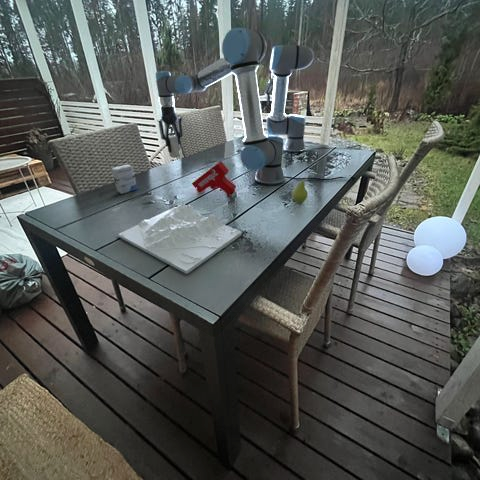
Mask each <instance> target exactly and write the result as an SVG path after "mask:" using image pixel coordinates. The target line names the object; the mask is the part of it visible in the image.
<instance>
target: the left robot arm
mask: <svg viewBox="0 0 480 480" xmlns="http://www.w3.org/2000/svg"><path fill="white" fill-rule="evenodd" d="M267 46H268V45H267V41H266V38H265V36H264V35H263V33H262V32H260V31H258V30H255V29H248V28H244V27H233V28H230V29H229V30H228V31H227V32H226V34H225V36H224V38H223V40H222V43H221V52H222V56H223V57H221V58H219V59H217V60H216V61H215V62H213V63H211V64H210V65H207V66H206V67H205V68H203V69H201V70H199V71H198V72H196V73H195V74H189V75H171V74H172V73H171V71H167V70H165V71H164V70H163V71H156V72H155V83H156V90H157V95H158V102H159V106H160V114H161V118H160V119H157V120H156V122H157V124H158V128H159V133H160V138H161V140H163V141H164V143H165V146H166V147H167V151H168V153H169V152H170V153H171V152H172V151H171V145H170V140H168V136H170V135H169V134H170V132H169V131H170V126H171V127H172V130H173V132H174V136H176V137H177V138H178V146H179V147H180V145H181V138H183V127H182V120H183V119H182V117H178V116H177V112H176V106H175V98H174V97H175V96H174V94H178V95H179V94H180V95H187V94H190V93H202V92H204V91H206V89H207V88H208V87H209V86H211V85H213V84H215V83H217V82H219V81H220V80H223V79H224V78H226V77H228V76H230V75H234V76H235V83H236V87H237V93H238V94H237V95H238V100H239V107H240V112H241V118H242V124H243V130H244V138H243V139H242V145H243V146H242V147H243V148H242V149H241V151H240V160H241V163H242V164H243V166H244V167H246V168H247V169H249V170H251V171H256V172H255V177H254V181H255V183H258V184H259V185H262V186H263V185H264V186H279V185H281V184H283V183H284V181H285V179H289V180H290V179H292V180H298V181H299V180H301V181H302V180H305V179H306V178H307V177H293V176H285V175H284V172H283V171H284V170H283V167H282V165H283V154H284V145H285V142H284V137H283V135H269V134H268V133H265V130H264V123H263V115H262V114H263V113H262V108H261V101H260V100H261V99H260V93H259V86H258V84H259V83H258V77H257V71H258V68H259V67H260V62H261V61H263V59H264V58H265V56H266V54H267ZM176 123H177V124H176ZM163 124H164V125H163ZM180 151H181V150H180V148H179V152H180ZM310 177H311V176H310ZM310 177H309V178H307V179H306V180H319V181H334V180H337V179H344V178H346V177H342V176H336V177H330V178H331V179H330V178H323V179H321V178H322V177H311V178H310ZM350 178H351V179H353V180H355V177H354V176H353V177H350Z"/></svg>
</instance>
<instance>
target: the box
mask: <svg viewBox="0 0 480 480" xmlns="http://www.w3.org/2000/svg"><path fill="white" fill-rule="evenodd" d="M168 140H170V145H171V151H172V152H171V153H170V152H168V153H169V154H168V155H169V157H171V158H172V159H175V158H180V157H181V155H180V151H179V149H180V145H179V146H178V138H177V137H176V136H175V134H173V135H169V136H168Z"/></svg>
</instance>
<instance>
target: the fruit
mask: <svg viewBox="0 0 480 480" xmlns="http://www.w3.org/2000/svg"><path fill="white" fill-rule="evenodd" d="M309 177H311V175H310V174H309V175H308V176H307V177H305V178H306V179H301V181H300V182H298V184H297V185H296V186H295V187H294V188H293V190H292V191H291V198H292V200H293V201H294V202H295V203H297V204H301V203H304V202H305V201H306V200H307V198H308V196H309V195H308V190H307V189H306V184H305V183H306V180H308V179H307V178H309Z"/></svg>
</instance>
